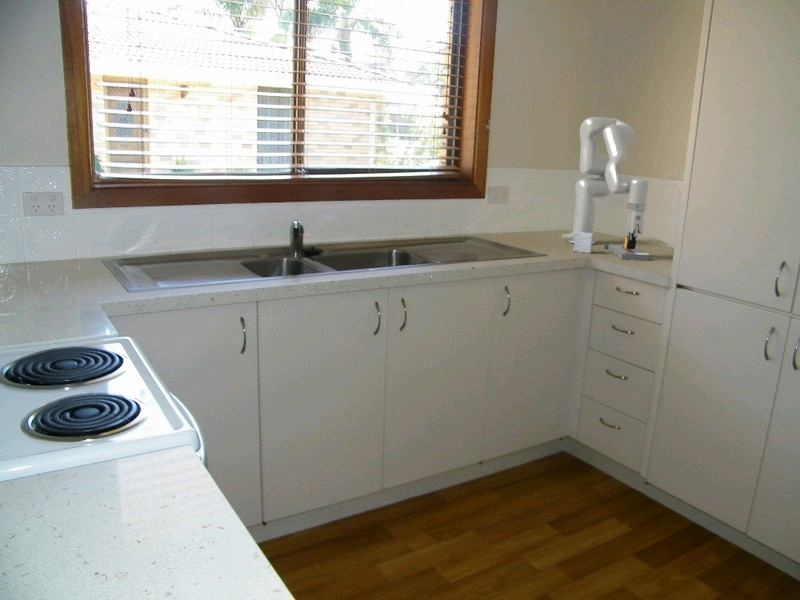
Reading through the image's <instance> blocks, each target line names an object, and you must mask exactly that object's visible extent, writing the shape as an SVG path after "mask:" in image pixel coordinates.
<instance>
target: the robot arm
mask: <svg viewBox="0 0 800 600" xmlns="http://www.w3.org/2000/svg"><path fill="white" fill-rule="evenodd" d="M596 137H603V140H604V144H605V147H606V152H607V155H603V154H602V155H601V154H600V153H599V151H600V144H599V142H598V139H597V138H596ZM634 137H635V131H634V129H633V127H632V126H631V125H630V124H627V123H626V122H624V121H622V120H620V119H618V118H614V117H601V116H591V117H587V118H586V119H584V120H583V121H582V122H581V124H580V128H579V139H580V140H579V141H580V150H579V151H580V153H579V155H580V156H579V170H580V173H581V174H582V175H586V176H596V177H582V178H580V179H578V180H577V181H576V182H575V186H574V188H575V189H574V190H575V191H574V193H575V206H574V217H573V218H574V219H573V224H572V225H573V228H572V232H570V233H569V234H568V233H563V234H562V238H563V239H568V243H571V244H573V243H574V237H575V233H576V232H583V233H593V234H594V226H595V216H596V204H595V201H594V199H603V198H606V197H608V196H609V195H610V193H612V194H614V195H628V198H627V204H626V211H628V212H627V217H626V225H625V230H626V232H627V236H628V244H627V248H628V249H635V246H636V247H637V245H636V244H637V240H638V239H637V238H638V235H642V234H643V229H644V218H645V217H644V215H645V214H644V212H645V211H646V205H647V198H648V197H647V196H648V189H649V181H648V180H647V179H643V178H642V179H641V178H637V177H632V176H631V177H630V176H619V174H618V171H617V166H618V164H619V163H621V162H623V161H625V160H626V159H627V158H629V150H628V147H627V144H631V142H633V140H634V139H635V138H634ZM595 244H596V241H595V240H593V245H595Z"/></svg>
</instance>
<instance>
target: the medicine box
mask: <svg viewBox="0 0 800 600" xmlns="http://www.w3.org/2000/svg"><path fill="white" fill-rule="evenodd" d="M594 236H595V235H594V232H593V233H583V232H576V233H575V237H574V244H573V246H572V247H573V248H572V252H573V251H577V252H576V253H582V252H585V254H592V252H593V245H594V244H593V241H594Z"/></svg>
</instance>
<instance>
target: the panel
mask: <svg viewBox="0 0 800 600" xmlns="http://www.w3.org/2000/svg"><path fill="white" fill-rule="evenodd" d="M608 245H609V246H608V249H607V250H608V251H609V250H610V251H609V252H611V253H612V254H613V253H614V255H615V256H616V255H617V258H619V259H621V260H628V259H634V260H633V261H648V260H649V261H650V257H651V255H650V254H649V253H647V252H646V251H644V250H643V249H640V248H639V247H637V245H636V246H635V249H630V252H629V251H628V250H626V249H625V248H624V247H625V244H623V245H622V244H608Z"/></svg>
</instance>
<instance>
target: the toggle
mask: <svg viewBox="0 0 800 600" xmlns="http://www.w3.org/2000/svg"><path fill="white" fill-rule="evenodd" d="M627 244H628V235H625V239H624V245H625V247H624V248H625V249H626V250H628V251H629V252H630V249H628V248H627Z"/></svg>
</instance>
